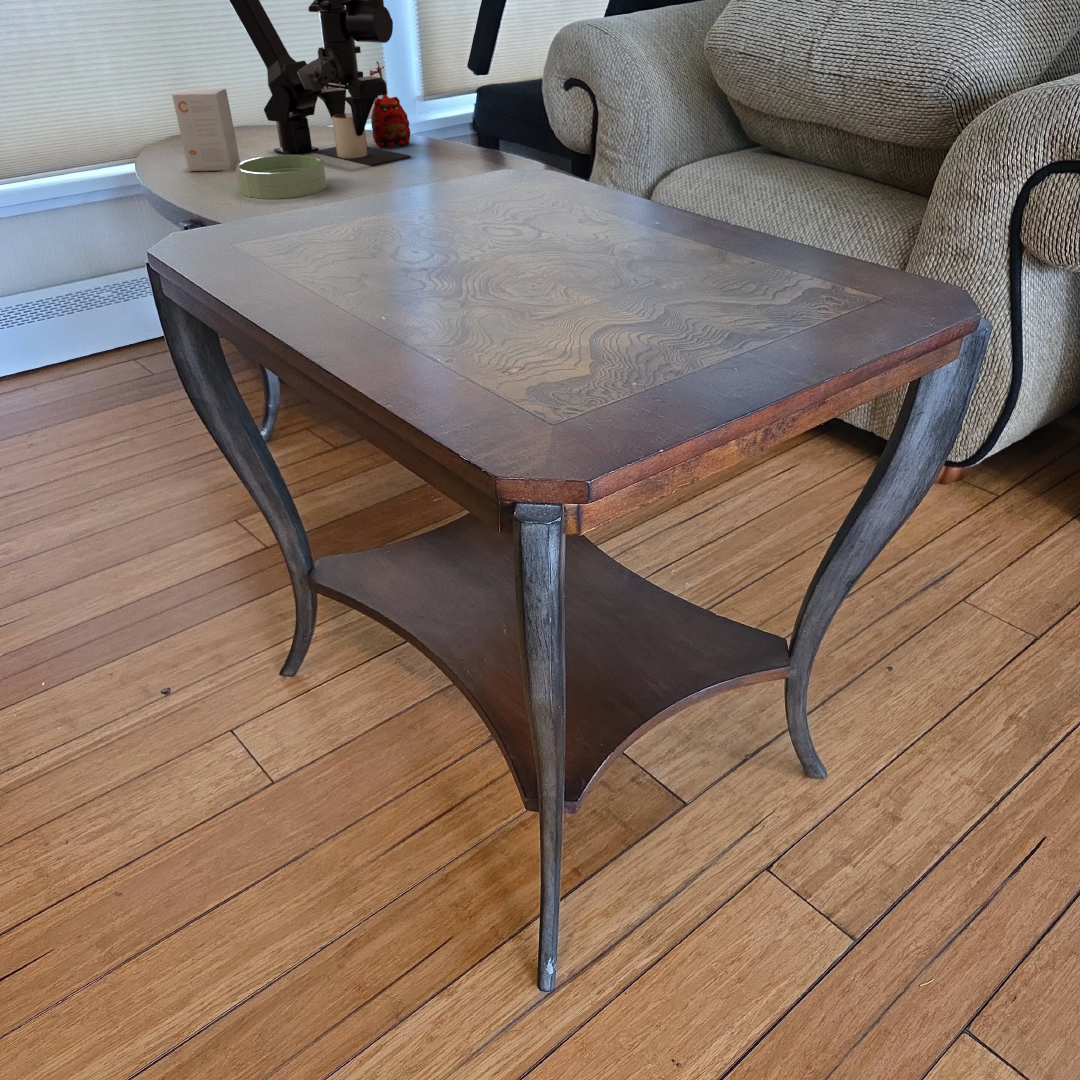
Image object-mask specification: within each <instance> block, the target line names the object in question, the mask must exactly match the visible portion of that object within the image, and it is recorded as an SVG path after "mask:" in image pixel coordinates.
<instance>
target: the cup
mask: <svg viewBox="0 0 1080 1080" xmlns="http://www.w3.org/2000/svg"><path fill="white" fill-rule="evenodd" d="M331 120H333V121H332V127H333V134H334V144H335V147H336V151H337V156H338V157H340V158H360V157H364V156H367V154H368V153H367V144H368V143H367V135H366V127H365V128H364V131H363V134H362V135H361V136H357V135H356V131H355V127H354V122H353V116H352V112H345V113H344V114H337V115H334V116H332V118H331Z"/></svg>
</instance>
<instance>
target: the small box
mask: <svg viewBox="0 0 1080 1080" xmlns="http://www.w3.org/2000/svg"><path fill="white" fill-rule="evenodd" d="M171 97H172V101H173V106H174V110H175V115H176V119H177V125H178V129H179V133H180V137H181V143H182V147H183V152H184V156H185V157H184V158H185V160H186V165H187V170H188V172H209V171H210V172H211V171H213V172H214V171H218V172H219V171H229V170H234V169H236V165H237V164H239V163H241V159H240V154H239V150H238V143H237V138H236V132H235V127H234V122H233V117H232V112H231V108H230V102H229V96H228V91H227V88H193V89H192V88H191V89H190V88H189V89H188V88H187V89H185V88H183V89H181V90H179V91H176V92H174V93H172V94H171Z"/></svg>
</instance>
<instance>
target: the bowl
mask: <svg viewBox="0 0 1080 1080" xmlns="http://www.w3.org/2000/svg"><path fill="white" fill-rule="evenodd" d="M235 172H236V178H237V179H236V180H237V184H238V189H239V193H240V194H241V195H243V196H245V197H249V198H253V199H262V200H279V199H280V200H281V199H292V198H301V197H305V196H310V195H314V194H317V193H320V192H322V191H324V190H325V189H326V188H327V184H328V183H327V178H326V177H327V176H326V170H325V162H324V160H323V159H322V158H320V157H317V156H313V155H308V154H306V155H287V154H277V155H269V156H259V157H253V158H250V159H246V160H243V161H240V163H239V164H237V165H236V167H235Z"/></svg>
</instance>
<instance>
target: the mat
mask: <svg viewBox="0 0 1080 1080" xmlns="http://www.w3.org/2000/svg"><path fill="white" fill-rule="evenodd" d="M367 153H368V154H367V156H364V157H360V158H340V157H338V156H337V151H336V146H334V147H329V148H322V149H319V150H318V151H313V152H308V153H303V154H298V155H311V154H317V155H321V156H324V157H325V156H326V157H329V158H334V159H338V160H343V161H345V162H346V161H347V162H351V163H356V164H359V165H364V166H367V167H368V166H369V167H376V166H379V165H384V164H389V163H393V162H398V161H402V160H407V159H412V156H411V155H410V154H409V155H408V154H405V153H400V152H396V151H392V150H386V149H383V148H382V149H381V148H377V147H372V146H367Z"/></svg>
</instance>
